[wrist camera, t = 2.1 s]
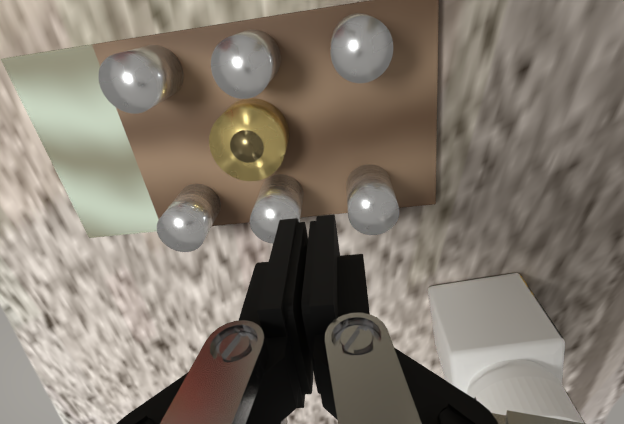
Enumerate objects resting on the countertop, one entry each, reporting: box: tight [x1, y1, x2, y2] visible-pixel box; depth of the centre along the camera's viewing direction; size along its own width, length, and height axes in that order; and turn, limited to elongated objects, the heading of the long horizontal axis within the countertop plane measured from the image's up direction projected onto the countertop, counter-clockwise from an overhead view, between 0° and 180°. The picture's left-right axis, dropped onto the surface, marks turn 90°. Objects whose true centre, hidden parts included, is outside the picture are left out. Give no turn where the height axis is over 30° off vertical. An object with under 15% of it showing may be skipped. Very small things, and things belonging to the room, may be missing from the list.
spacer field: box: [98, 13, 399, 252], centre depth 23 cm, size 12×15×4 cm
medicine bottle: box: [428, 273, 584, 423], centre depth 27 cm, size 7×7×12 cm
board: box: [1, 0, 439, 238], centre depth 25 cm, size 13×26×1 cm, turn 98°
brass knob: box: [209, 98, 289, 181], centre depth 24 cm, size 4×4×3 cm
